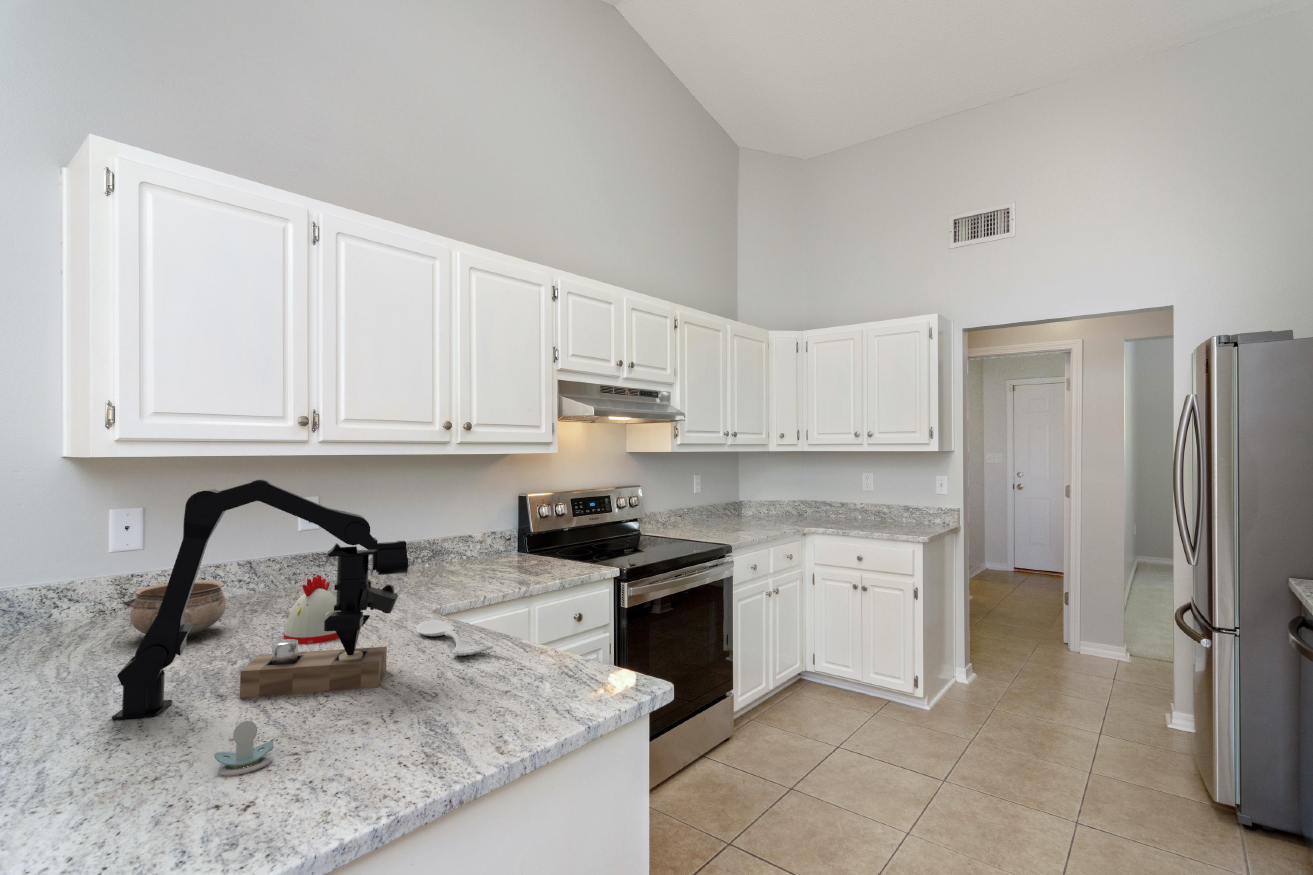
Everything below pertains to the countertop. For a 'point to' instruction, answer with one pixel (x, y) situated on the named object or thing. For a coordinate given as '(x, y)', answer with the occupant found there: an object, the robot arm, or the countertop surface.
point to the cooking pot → (200, 609)
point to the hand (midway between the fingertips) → (350, 654)
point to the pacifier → (244, 752)
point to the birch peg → (351, 656)
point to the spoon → (447, 629)
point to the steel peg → (285, 652)
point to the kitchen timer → (311, 614)
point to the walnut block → (313, 673)
